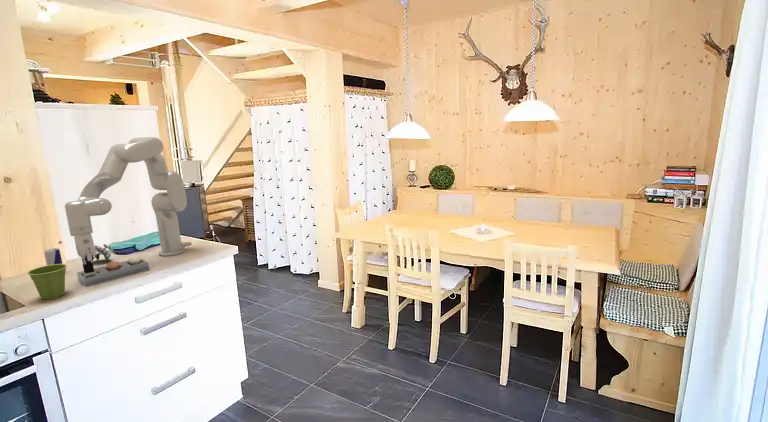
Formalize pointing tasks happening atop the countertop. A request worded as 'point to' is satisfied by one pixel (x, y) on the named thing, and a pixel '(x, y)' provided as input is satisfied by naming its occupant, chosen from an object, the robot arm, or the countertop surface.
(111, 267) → the terracotta button
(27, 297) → the countertop surface
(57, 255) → the energy drink
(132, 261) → the ivory button
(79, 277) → the console
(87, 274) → the sage button
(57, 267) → the plant pot
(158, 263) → the countertop surface
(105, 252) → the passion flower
